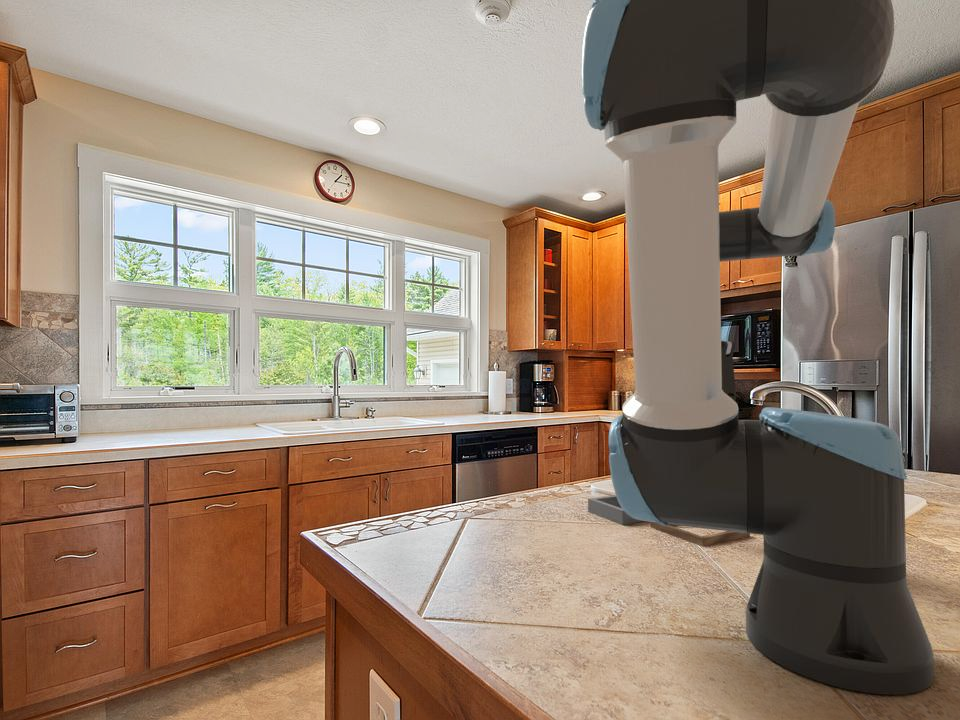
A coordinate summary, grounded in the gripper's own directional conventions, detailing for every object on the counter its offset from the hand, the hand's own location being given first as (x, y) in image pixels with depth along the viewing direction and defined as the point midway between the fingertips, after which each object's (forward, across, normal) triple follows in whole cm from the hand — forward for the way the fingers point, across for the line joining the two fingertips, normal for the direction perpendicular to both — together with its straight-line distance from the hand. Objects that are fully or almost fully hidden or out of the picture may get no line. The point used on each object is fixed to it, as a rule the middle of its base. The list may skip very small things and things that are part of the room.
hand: (697, 442), depth 89 cm
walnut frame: (+15, 0, 0) cm, 15 cm away
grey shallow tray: (+15, +14, -1) cm, 21 cm away
